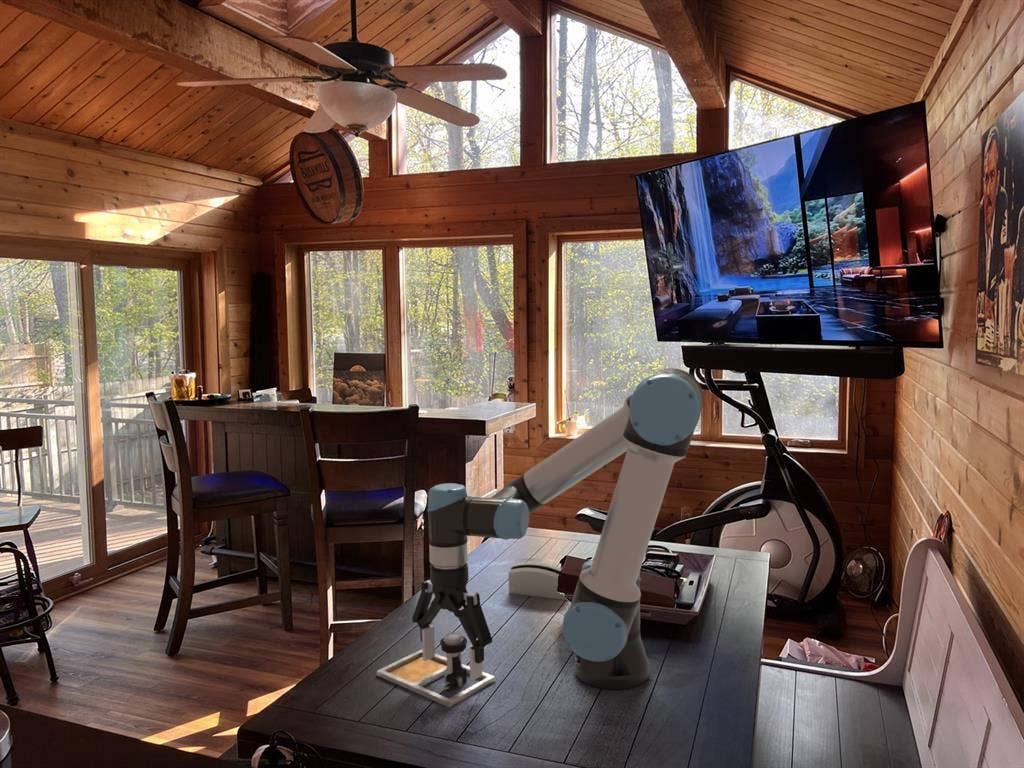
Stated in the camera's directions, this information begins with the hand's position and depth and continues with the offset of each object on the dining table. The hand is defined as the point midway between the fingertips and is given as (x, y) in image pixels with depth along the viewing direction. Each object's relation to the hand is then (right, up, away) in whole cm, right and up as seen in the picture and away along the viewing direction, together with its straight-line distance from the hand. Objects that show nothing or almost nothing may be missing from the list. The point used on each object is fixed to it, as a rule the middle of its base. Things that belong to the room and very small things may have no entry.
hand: (451, 667), depth 152 cm
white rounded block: (+19, +1, +48) cm, 52 cm away
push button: (0, -4, 0) cm, 4 cm away
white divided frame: (-4, -3, +4) cm, 6 cm away
